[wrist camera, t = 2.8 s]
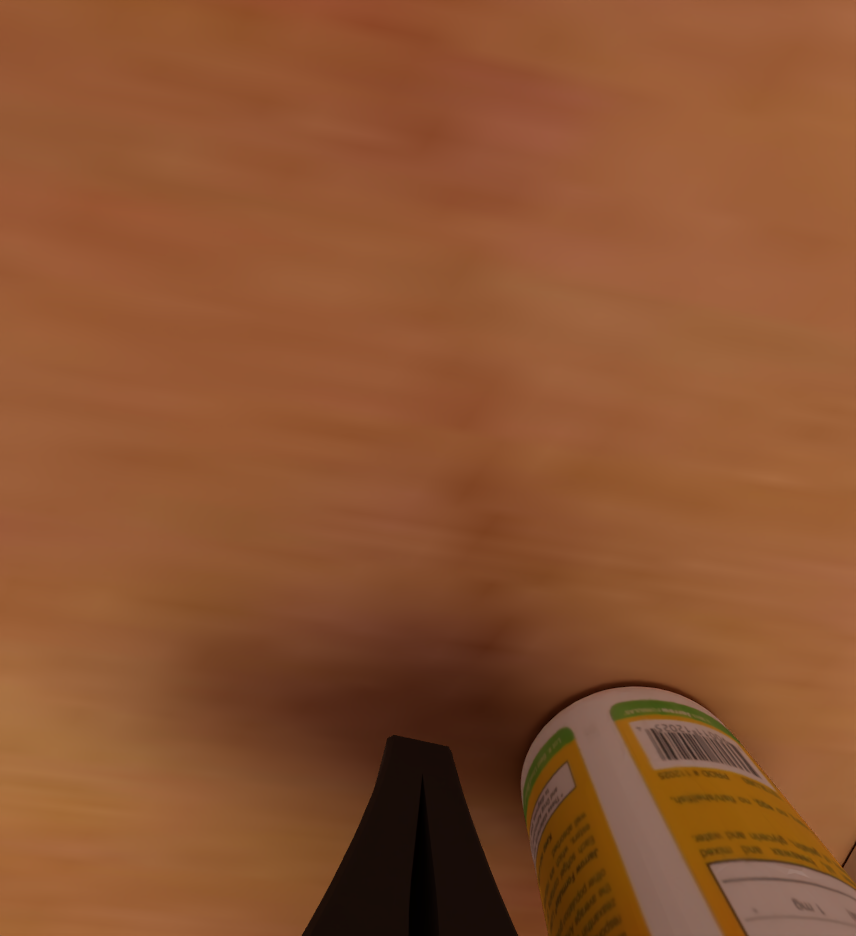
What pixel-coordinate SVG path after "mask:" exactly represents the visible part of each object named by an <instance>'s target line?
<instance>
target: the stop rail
mask: <svg viewBox="0 0 856 936" xmlns="http://www.w3.org/2000/svg"><path fill="white" fill-rule="evenodd" d="M843 869H844V870H845V871H846V873H847V874H848V875H849V876H850V878H851V879H852V880H853V881H854V882H855V884H856V846H855V848H854V850H853V852H852V853H851V855H850V857H849V859H848V860H847V862H846V864H845V865H844V867H843Z"/></svg>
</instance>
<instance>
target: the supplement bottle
mask: <svg viewBox="0 0 856 936" xmlns="http://www.w3.org/2000/svg"><path fill="white" fill-rule="evenodd" d="M521 797H522V803H523V810H524V816H525V821H526V826H527V831H528V836H529V841H530V847H531V852H532V857H533V861H534V866H535V870H536V875H537V880H538V886H539V891H540V896H541V901H542V906H543V911H544V916H545V921H546V926H547V931H548V936H856V884H855V882H854V881H853V880H852V879H851V878H850V876H849V875H848V874H847V873H846V871H845V870H844V869H843V868H842V867H841V865H840V864H839V863H838V862H837V860H836V859H835V858H834V857H833V856H832V854H831V853H830V852H829V851H828V849H827V848H826V847H825V846H824V845H823V843H822V842H821V841H820V840H819V838H818V837H817V836H816V835H815V834H814V832H813V831H812V830H811V829H810V828H809V826H808V825H807V824H806V823H805V821H804V820H803V819H802V818H801V817H800V815H799V814H798V813H797V812H796V811H795V809H794V808H793V807H792V806H791V804H790V803H789V802H788V801H787V800H786V798H785V797H784V796H783V795H782V793H781V792H780V791H779V790H778V788H777V787H776V786H775V785H774V784H773V782H772V781H771V780H770V779H769V777H768V776H767V775H766V774H765V773H764V771H763V770H762V769H761V768H760V766H759V765H758V764H757V763H756V762H755V760H754V759H753V758H752V757H751V756H750V754H749V753H748V752H747V751H746V749H745V748H744V747H743V746H742V745H741V743H740V742H739V741H738V740H737V739H736V738H735V737H734V736H733V734H732V733H731V732H730V731H729V730H728V729H727V728H726V726H725V725H724V724H723V723H722V722H721V721H720V720H719V719H718V718H717V717H715V716H714V715H713V714H712V713H711V712H710V711H708V710H707V709H705V708H704V707H703V706H701V705H699V704H698V703H696V702H694V701H692V700H690V699H688V698H686V697H684V696H682V695H679V694H676V693H673V692H670V691H666V690H662V689H658V688H650V687H634V686H631V687H619V688H613V689H607V690H603V691H600V692H597V693H594V694H591V695H589V696H587V697H584V698H582V699H580V700H578V701H576V702H574V703H573V704H571V705H570V706H568V707H567V708H565V709H564V710H562V711H561V712H559V713H558V714H557V715H556V716H555V717H553V718H552V719H551V720H550V721H549V722H548V723H547V724H546V725H545V726H544V728H543V729H542V730H541V731H540V733H539V734H538V735H537V737H536V738H535V740H534V742H533V743H532V745H531V747H530V749H529V751H528V753H527V756H526V759H525V762H524V765H523V770H522V775H521Z"/></svg>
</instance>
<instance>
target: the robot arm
mask: <svg viewBox="0 0 856 936" xmlns="http://www.w3.org/2000/svg"><path fill="white" fill-rule="evenodd" d="M302 936H518V934H517V932H516V930H515V927H514V925H513V923H512V921H511V918H510V916H509V914H508V911H507V909H506V907H505V904H504V902H503V899H502V897H501V895H500V892H499V890H498V888H497V885H496V883H495V880H494V878H493V875H492V872H491V870H490V867H489V865H488V862H487V859H486V857H485V854H484V851H483V849H482V846H481V843H480V841H479V838H478V835H477V833H476V830H475V827H474V824H473V821H472V818H471V815H470V812H469V809H468V806H467V803H466V800H465V797H464V794H463V791H462V787H461V784H460V781H459V777H458V774H457V770H456V767H455V763H454V759H453V755H452V752H451V750H450V749H449V747H448V746H443V745H438V744H434V743H429V742H424V741H420V740H415V739H410V738H406V737H401V736H397V735H393V736H391V737H389V738H387V742H386V746H385V750H384V754H383V758H382V761H381V765H380V769H379V773H378V777H377V781H376V785H375V788H374V791H373V793H372V796H371V798H370V801H369V803H368V805H367V808H366V810H365V812H364V815H363V817H362V820H361V822H360V824H359V827H358V829H357V831H356V833H355V835H354V838H353V840H352V842H351V844H350V846H349V848H348V850H347V852H346V854H345V856H344V858H343V860H342V862H341V864H340V866H339V868H338V870H337V872H336V874H335V876H334V878H333V880H332V882H331V884H330V886H329V888H328V889H327V891H326V893H325V895H324V897H323V899H322V901H321V902H320V904H319V906H318V908H317V910H316V912H315V913H314V915H313V917H312V919H311V920H310V922H309V924H308V926H307V927H306V929H305V931H304V933H303V934H302Z"/></svg>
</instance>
